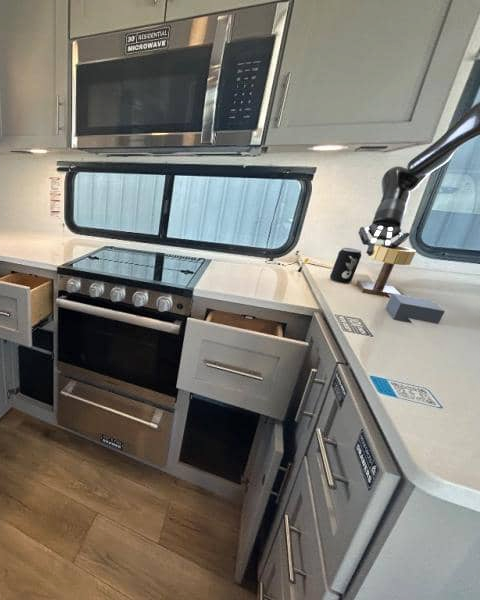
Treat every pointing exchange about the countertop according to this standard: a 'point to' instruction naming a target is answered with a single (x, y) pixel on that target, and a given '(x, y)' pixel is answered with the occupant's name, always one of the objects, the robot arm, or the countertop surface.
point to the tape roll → (393, 254)
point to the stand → (379, 283)
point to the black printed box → (345, 265)
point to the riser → (414, 309)
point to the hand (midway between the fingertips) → (375, 255)
